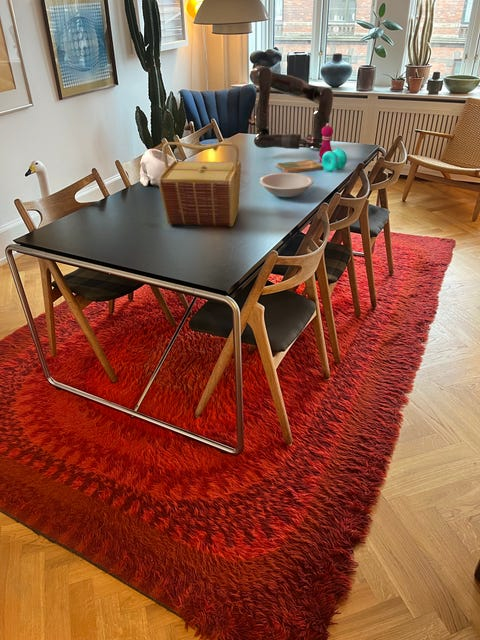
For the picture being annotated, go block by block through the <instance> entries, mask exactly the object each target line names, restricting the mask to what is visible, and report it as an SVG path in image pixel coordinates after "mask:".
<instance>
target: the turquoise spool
mask: <svg viewBox="0 0 480 640" xmlns="http://www.w3.org/2000/svg"><path fill="white" fill-rule="evenodd" d="M330 160H331V163H330ZM347 163H348V155H347V153H346V151H345V150H344V149H342V148H336V149H334V150H332V151H328V152H326V153H325V154H324V155H323V157H322V163H321V166H323V170H325V171H327V172H330V173H331V172H335V171H336V170H341V169H344V168H345V166H346V165H347Z"/></svg>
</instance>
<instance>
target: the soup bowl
mask: <svg viewBox="0 0 480 640" xmlns="http://www.w3.org/2000/svg"><path fill="white" fill-rule="evenodd" d="M314 183H315V182H314V179H313V178H312V177H311V176H309V175H306V174H303V173H299V172H297V173H286V172H275V173H270V174H266V175H264V176H262V177H260V178H259V184H260V185H261V186H263V187H264V189H265V190H266V191H267V192H268V193H269V194H270V195H273V196H275V197H279V198H293V197H297V196H300V195H302V194H304V193H305V192H306V191H307V190H308V188H309V187H311V186H312V185H313V184H314Z"/></svg>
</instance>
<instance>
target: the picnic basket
mask: <svg viewBox="0 0 480 640" xmlns="http://www.w3.org/2000/svg"><path fill="white" fill-rule="evenodd" d="M168 146H181V147H182V148H184V149H188V150H193V151H207V150H213V149H215V148H218V147H221V146H222V147H224V146H227V147H228V146H230V147H233V148H234V161H190V160H189V161H188V160H187V161H184V160H183V161H181V160H180V161H179V160H178V161H177V160H176V161H173V162H172V163H171V164H170V165H169V166H168V160H167V155H166V154H167V147H168ZM161 151H162V152H163V157H164V162H165V168H166V169H165V170H164V172H163V173H162V174H161V175H160V176H159V180H158V183H159V186H158V187H159V192H160V197H161V201H162V205H163V210H164V213H165V218H166V223H167V224H168V225H169V226H173V225H190V226H218V227H219V226H220V227H230V228H232V227H233V225H234V223H235V221H236V218H237V216H238V213H239V207H240V206H239V205H240V189H241V176H242V175H241V173H242V163H241V161H239V154H240V149H239V147H238V145H237V144H235V143H233V142H216V143H211V144H206V145H196V144H190V143H185V142H180V141H179V142H178V141H177V142H176V141H168V142H165V143H163V145H162V148H161Z"/></svg>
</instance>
